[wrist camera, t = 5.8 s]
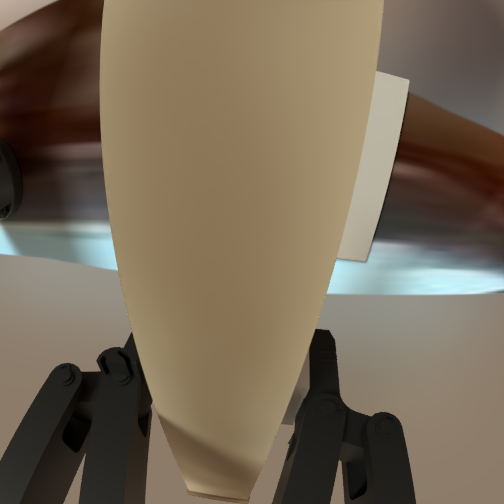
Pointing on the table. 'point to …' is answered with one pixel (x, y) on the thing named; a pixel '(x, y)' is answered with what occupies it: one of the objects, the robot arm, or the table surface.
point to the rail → (230, 204)
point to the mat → (374, 165)
